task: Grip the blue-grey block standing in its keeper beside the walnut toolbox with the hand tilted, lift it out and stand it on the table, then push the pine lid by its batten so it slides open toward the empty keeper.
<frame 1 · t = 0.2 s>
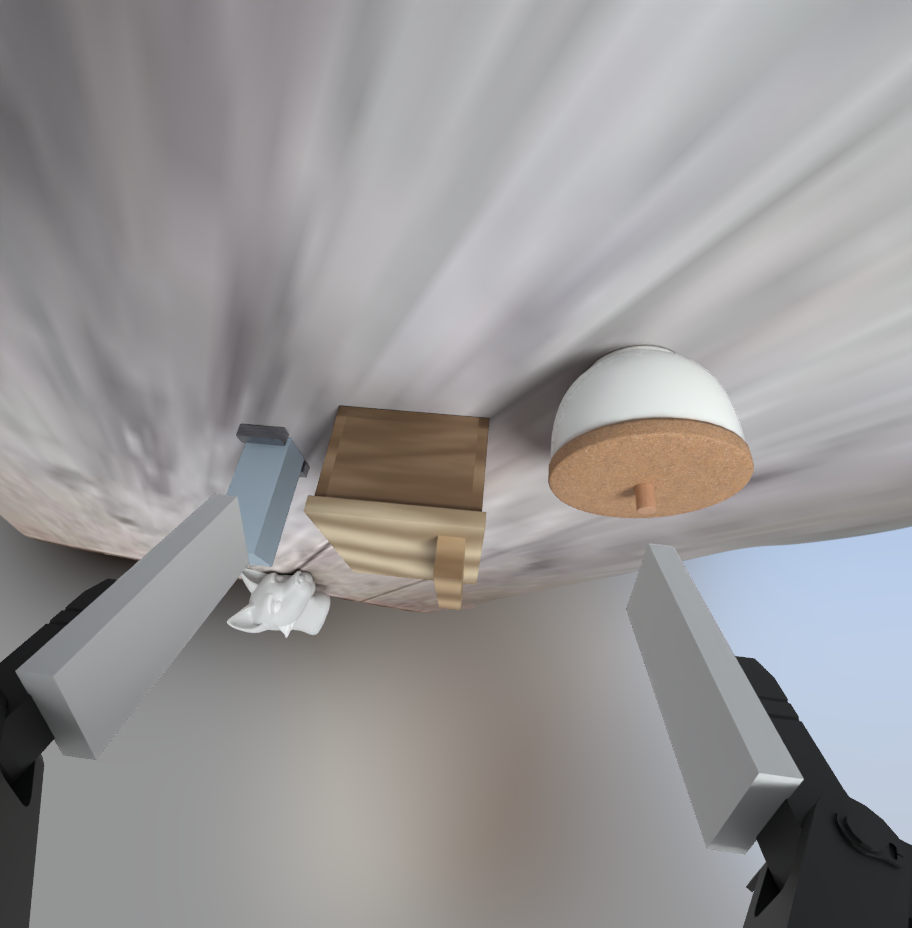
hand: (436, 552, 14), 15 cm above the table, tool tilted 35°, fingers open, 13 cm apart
blue-grey block: (277, 447, 43), on the table
fox head: (291, 572, 94), on the table
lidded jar: (632, 375, 29), on the table
toolbox: (421, 460, 42), on the table
lid: (404, 565, 37), point 10 cm above the table, slide at 0.0 cm
keeper: (277, 447, 43), on the table
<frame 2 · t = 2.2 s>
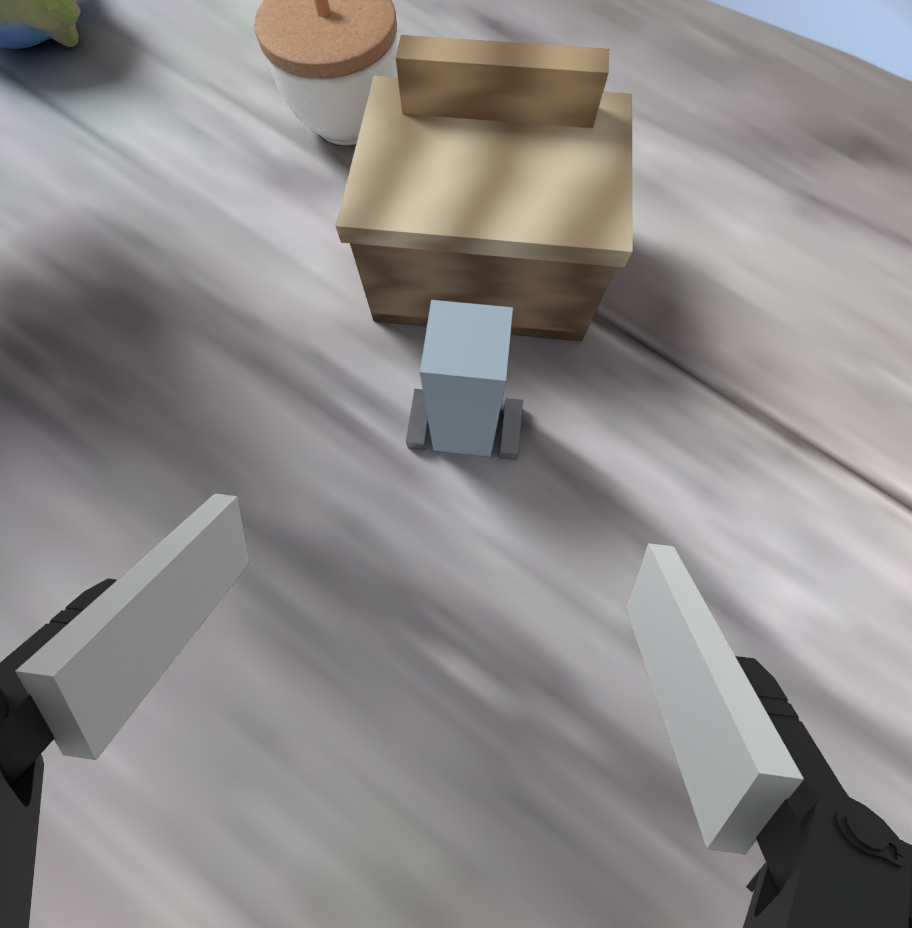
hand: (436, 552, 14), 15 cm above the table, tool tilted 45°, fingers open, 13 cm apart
green-blue rounded piece: (52, 30, 46), on the table
blue-grey block: (465, 427, 31), on the table
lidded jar: (349, 124, 41), on the table
toolbox: (484, 267, 36), on the table
lid: (493, 141, 26), point 10 cm above the table, slide at 0.0 cm
keeper: (465, 427, 31), on the table
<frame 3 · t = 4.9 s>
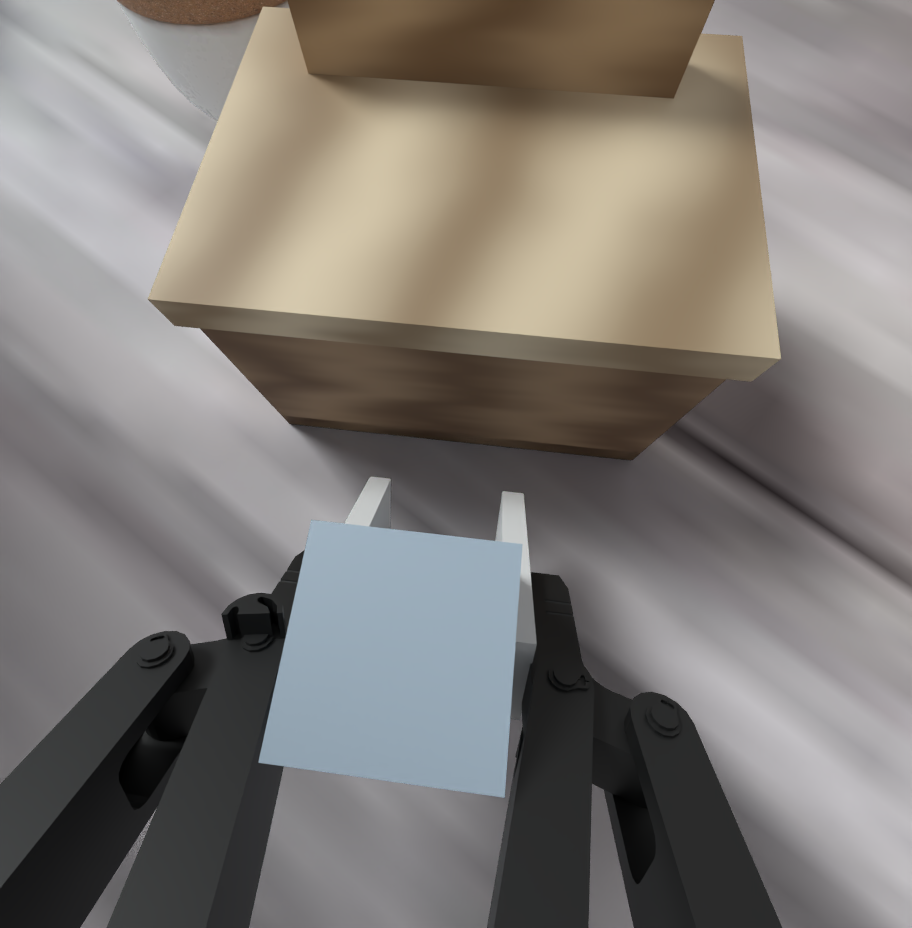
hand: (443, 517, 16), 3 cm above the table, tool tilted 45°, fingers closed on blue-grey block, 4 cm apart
blue-grey block: (435, 623, 18), on the table, touching gripper
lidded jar: (275, 108, 28), on the table
toolbox: (471, 331, 22), on the table
lid: (479, 122, 13), point 10 cm above the table, slide at 0.0 cm
when the fingers open (4 cm above the table, at t = 9.6 s): blue-grey block stays where it is, on the table.
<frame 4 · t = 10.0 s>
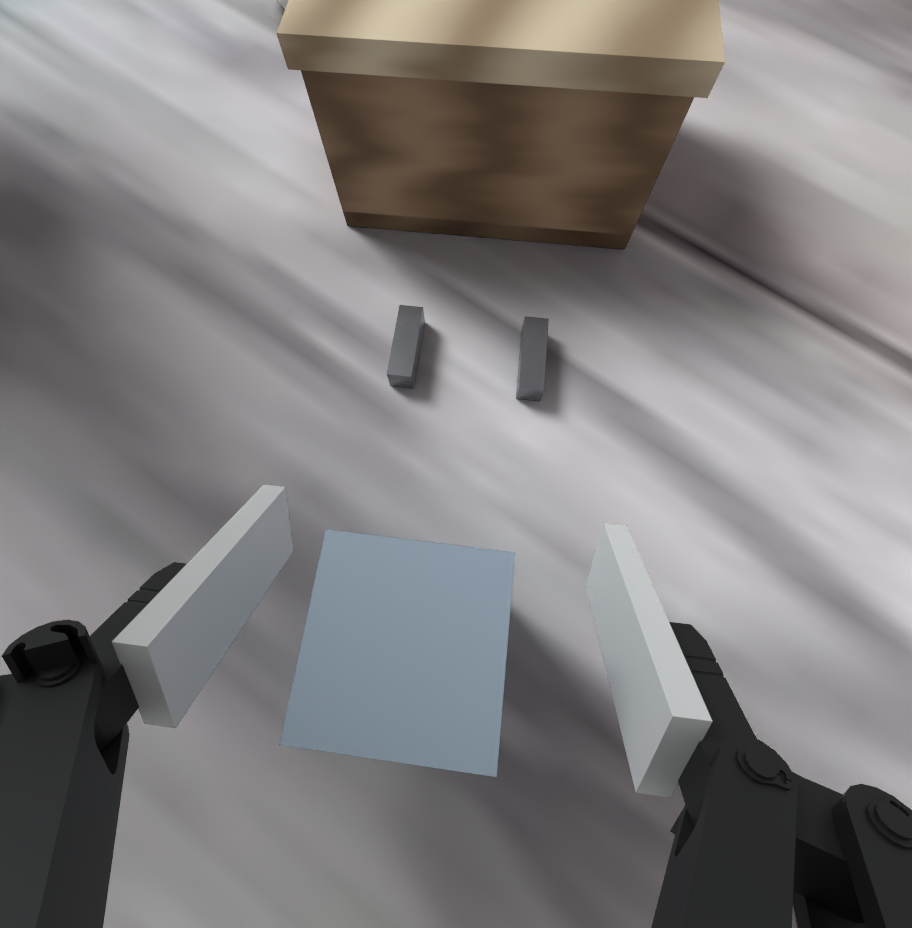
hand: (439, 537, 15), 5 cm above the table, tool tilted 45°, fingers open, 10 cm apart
blue-grey block: (435, 622, 19), on the table
toolbox: (493, 160, 27), on the table
keeper: (468, 358, 23), on the table
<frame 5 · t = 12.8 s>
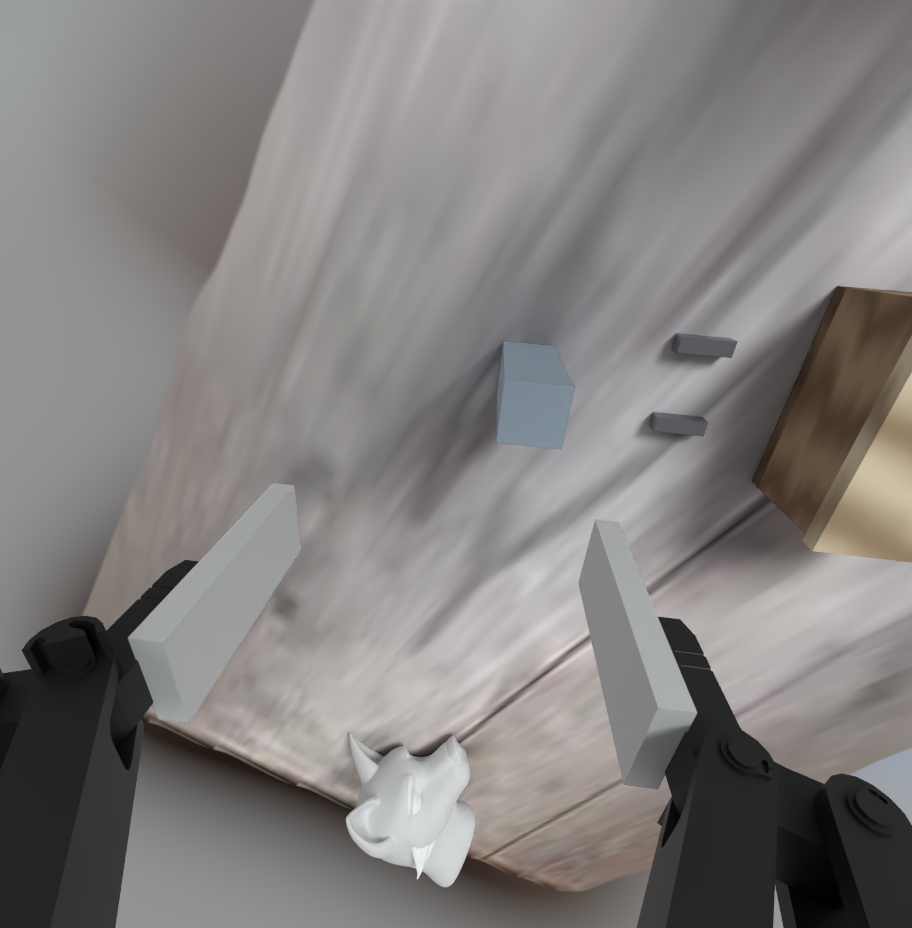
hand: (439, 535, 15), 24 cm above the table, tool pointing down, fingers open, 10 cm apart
blue-grey block: (524, 368, 36), on the table
fox head: (423, 752, 62), on the table
toolbox: (868, 401, 35), on the table
keeper: (687, 384, 35), on the table
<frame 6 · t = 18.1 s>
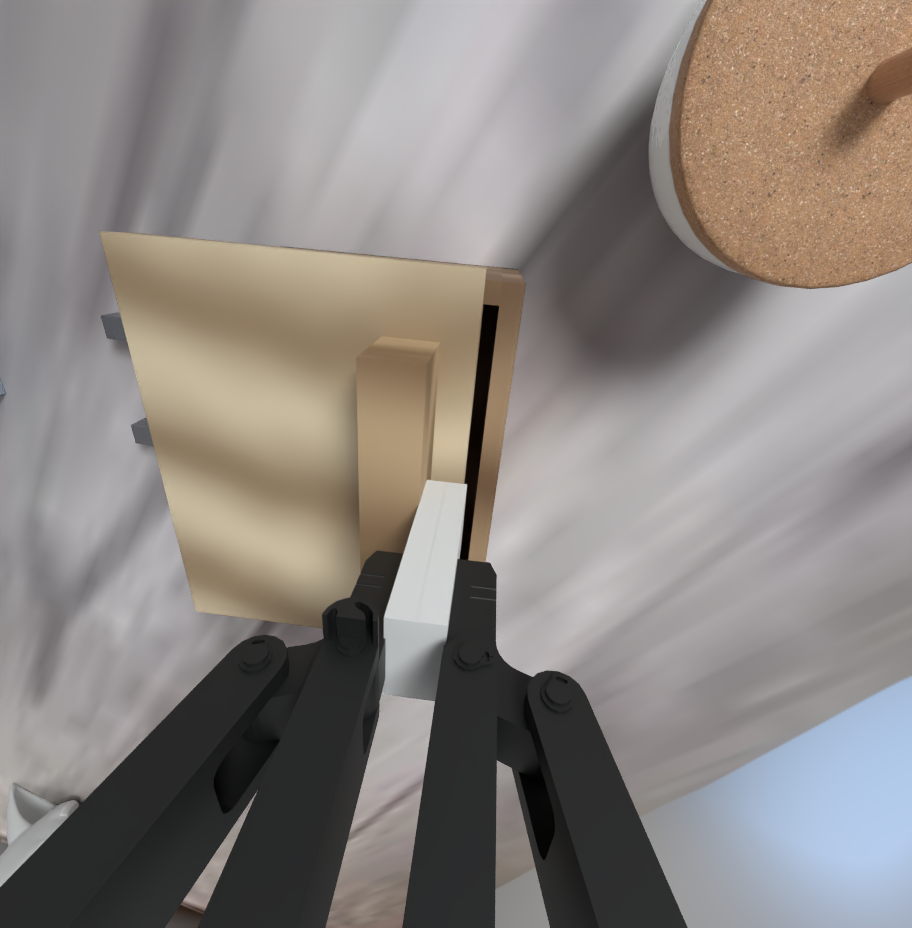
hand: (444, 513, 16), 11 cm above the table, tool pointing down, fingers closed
fox head: (108, 805, 53), on the table
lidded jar: (744, 138, 19), on the table
toolbox: (396, 406, 26), on the table
lid: (298, 490, 17), point 10 cm above the table, slide at 1.7 cm, touching gripper
keeper: (166, 381, 27), on the table
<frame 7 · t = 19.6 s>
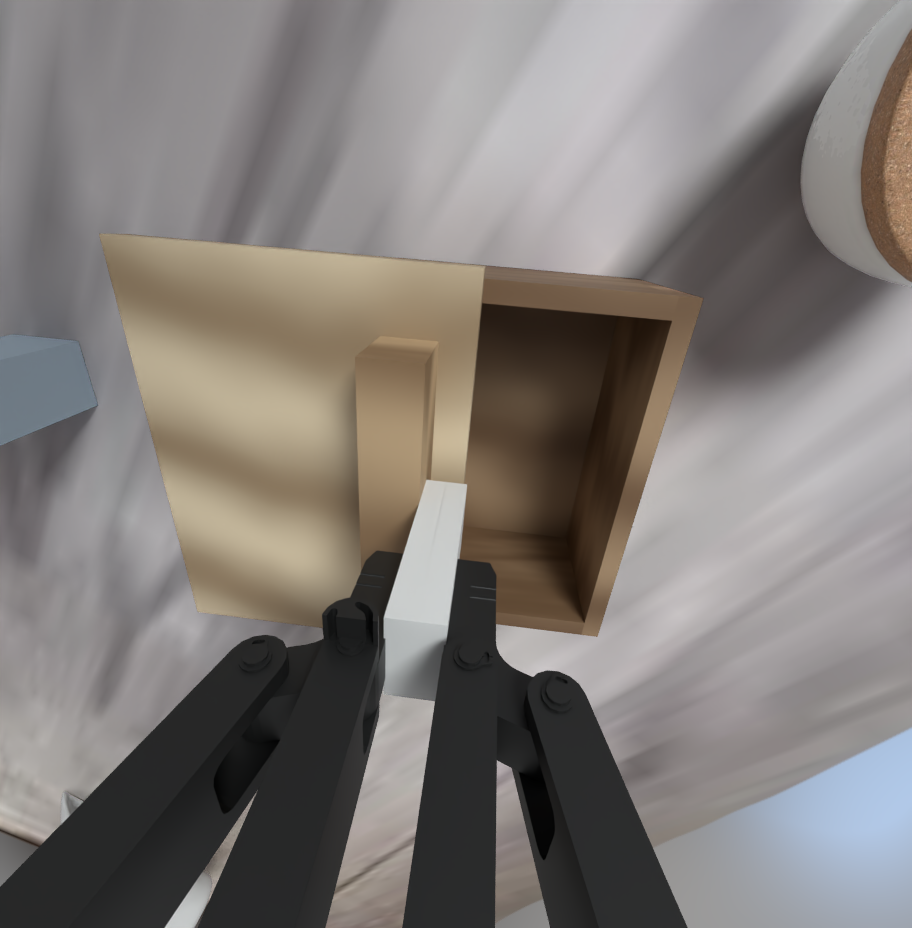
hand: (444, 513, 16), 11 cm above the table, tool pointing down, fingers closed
blue-grey block: (57, 370, 27), on the table
fox head: (159, 813, 52), on the table
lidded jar: (885, 146, 19), on the table
toolbox: (497, 417, 26), on the table
lid: (299, 490, 17), point 10 cm above the table, slide at 7.7 cm, touching gripper
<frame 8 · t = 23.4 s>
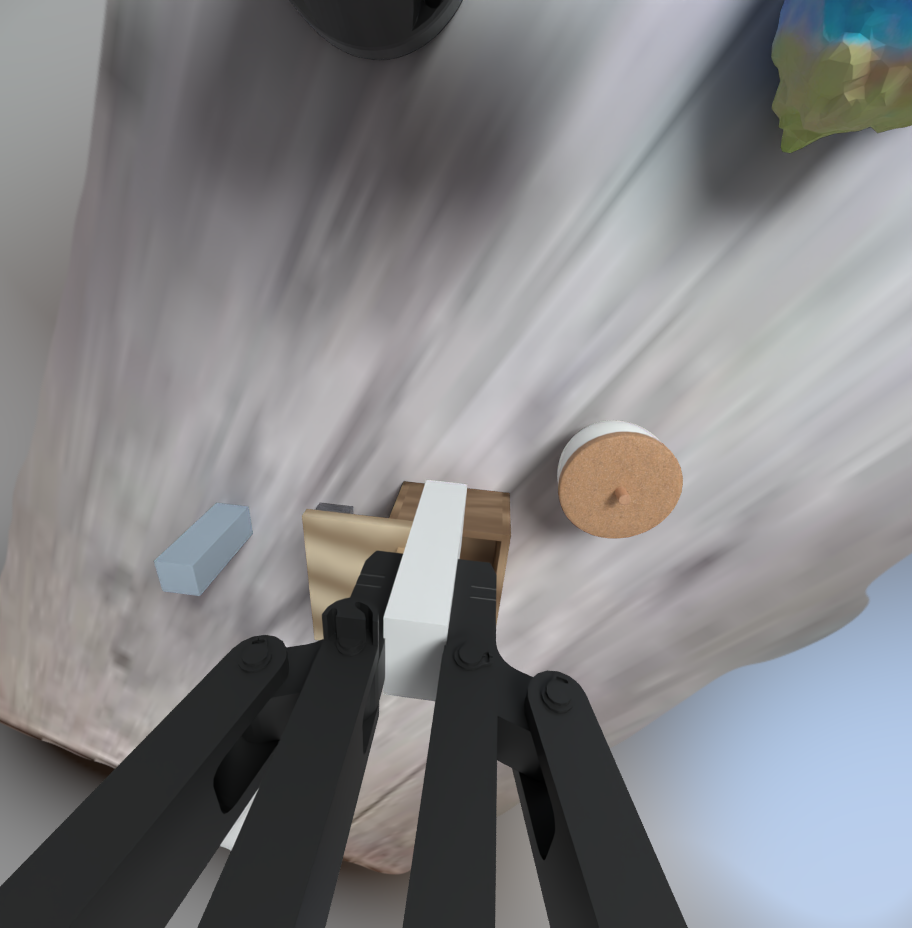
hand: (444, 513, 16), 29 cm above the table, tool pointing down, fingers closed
green-blue rounded piece: (852, 46, 31), on the table
blue-grey block: (234, 518, 55), on the table
fox head: (243, 758, 80), on the table
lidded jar: (602, 452, 47), on the table
toolbox: (451, 544, 54), on the table
lid: (366, 596, 45), point 10 cm above the table, slide at 7.7 cm
keeper: (337, 530, 54), on the table
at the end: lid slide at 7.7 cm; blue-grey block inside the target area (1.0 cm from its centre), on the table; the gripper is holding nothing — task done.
